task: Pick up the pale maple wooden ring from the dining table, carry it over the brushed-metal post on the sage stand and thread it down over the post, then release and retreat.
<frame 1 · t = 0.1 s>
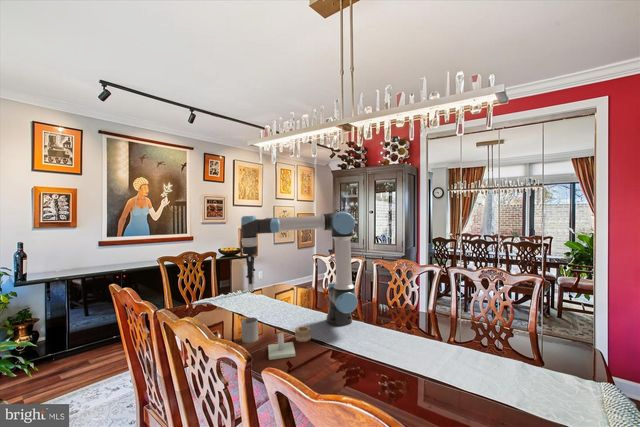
hand: (251, 286, 157), 28 cm above the table, fingers open, 13 cm apart
cup: (250, 339, 160), on the table
ring: (303, 338, 158), on the table
post stand: (281, 352, 144), on the table
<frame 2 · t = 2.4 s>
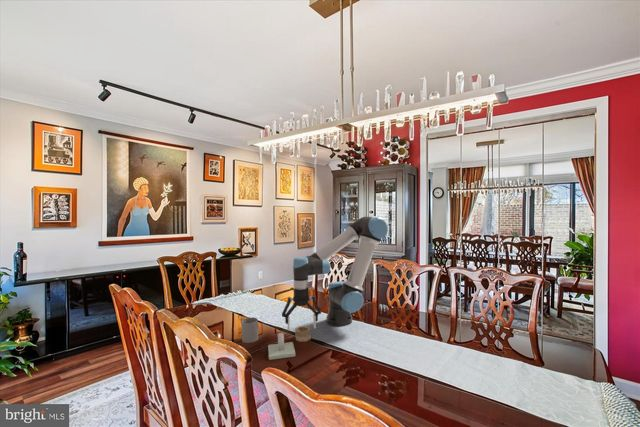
hand: (301, 328, 158), 5 cm above the table, fingers open, 13 cm apart
nothing on the table moved.
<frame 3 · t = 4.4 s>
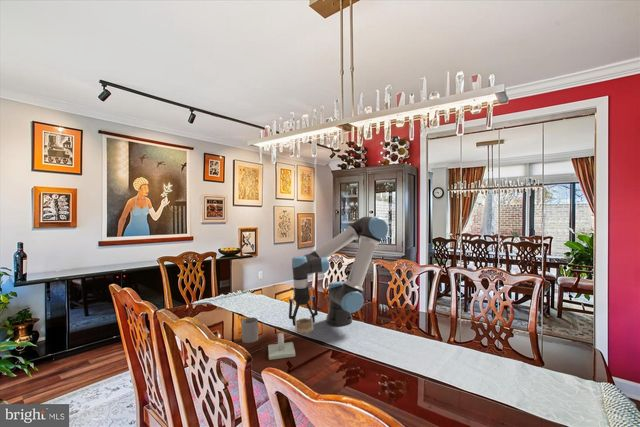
hand: (304, 330, 158), 4 cm above the table, fingers closed on ring, 8 cm apart
ring: (304, 330, 158), point 4 cm above the table, touching gripper
everything else where it was.
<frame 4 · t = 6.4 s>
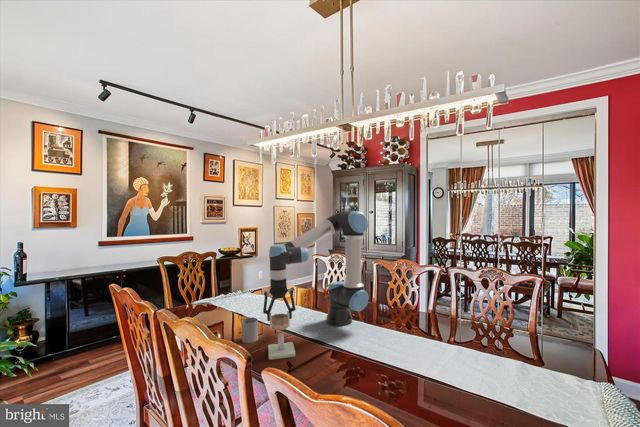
hand: (279, 326, 144), 12 cm above the table, fingers closed on ring, 8 cm apart
ring: (279, 327, 144), point 12 cm above the table, touching gripper
everything else where it was.
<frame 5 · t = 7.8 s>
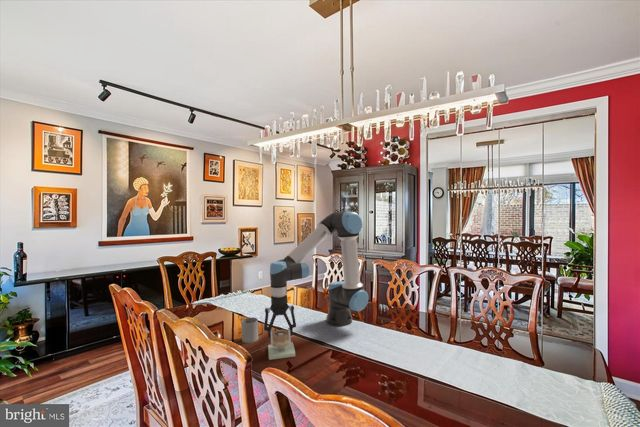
hand: (280, 343, 144), 4 cm above the table, fingers closed on ring, 8 cm apart
ring: (280, 343, 144), point 4 cm above the table, touching gripper
everything else where it was.
when the fingers open (2 cm above the table, at t = 8.7 s): ring stays where it is, resting on post stand.
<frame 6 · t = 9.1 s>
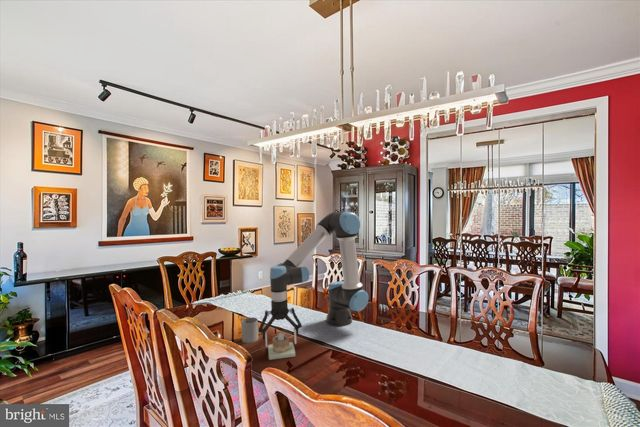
hand: (281, 344, 144), 4 cm above the table, fingers open, 13 cm apart
ring: (281, 348, 144), point 1 cm above the table, touching post stand
everything else where it was.
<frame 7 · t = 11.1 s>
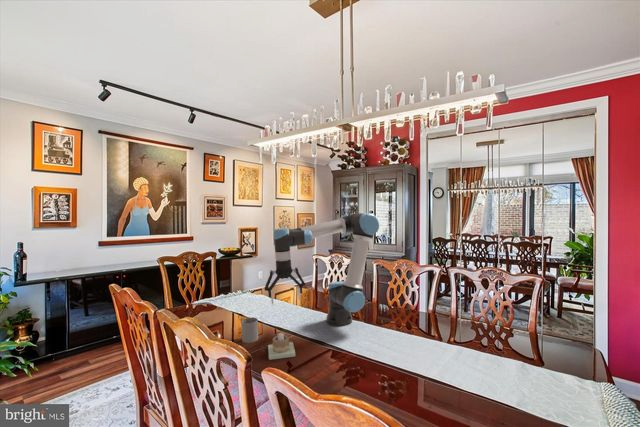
hand: (286, 301, 152), 21 cm above the table, fingers open, 13 cm apart
nothing on the table moved.
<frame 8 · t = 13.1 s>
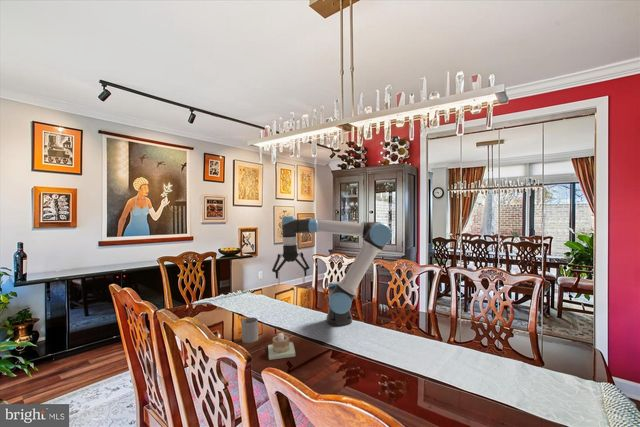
hand: (291, 283, 167), 27 cm above the table, fingers open, 13 cm apart
nothing on the table moved.
at the end: ring 0.0 cm off-centre on the post stand, point 1.5 cm above the post stand's base; the gripper is holding nothing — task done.
